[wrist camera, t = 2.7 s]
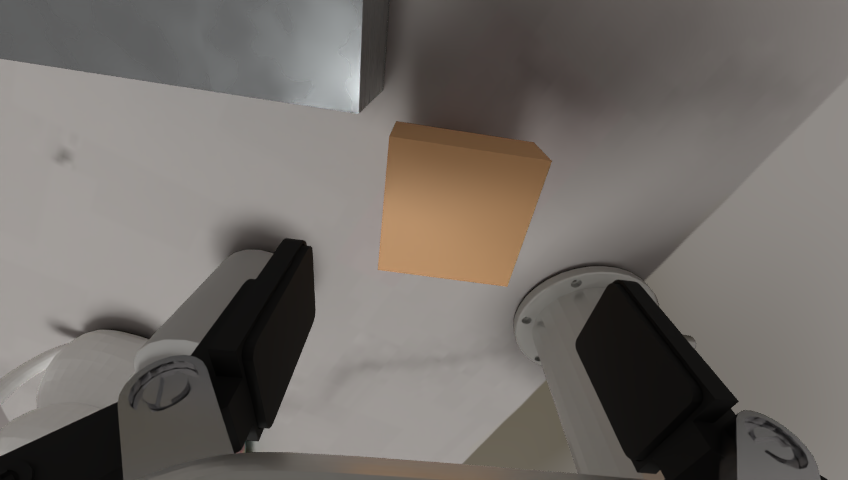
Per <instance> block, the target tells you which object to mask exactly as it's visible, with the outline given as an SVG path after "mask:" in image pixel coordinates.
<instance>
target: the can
mask: <svg viewBox="0 0 848 480" xmlns="http://www.w3.org/2000/svg"><path fill="white" fill-rule="evenodd" d="M273 254H274V253H270V252H266V251H263V250H243V251H239V252H236V253H233V254H232V255H231V256H229V257H228V258H227V259H225V260H224V261H223V262H222V263H221V264H220V265H219V267H218V268H217V269H216V270H215V271H214V272H213V273H212V274H211V275H210V276H209V277H208V278H207V279H206V280H205V281H204V282H203V283H202V284H201V285H200V286H199V288H198V289H197V290H196V291H195V292H194V293H193V294H192V295H191V296H190V297H189V298H188V299H187V300H186V301H185V302H184V303H183V304H182V305H181V306H180V307H179V308H178V310H177V311H176V312H175V313H174V314H173V315H172V316H171V317H170V318H169V319H168V320H167V321H166V322H165V323H164V324H163V325H162V326H161V327H160V328H159V329H158V331H157V332H156V333H155V334H154V335H153V336H152V337H151V338H150V339H149V340H148V341H147V342H146V343H145V344H144V345H143V346H142V347H141V348H140V349H139V350H138V352H137V355H136V357H135V360H134V367H135V373H134V374H136V373H137V372H138V371H140V370H141V369H143V368H144V367H146V366H147V365H149V364H151V363H153V362H156V361H158V360H160V359H163V358H167V357H170V356H177V355H188V356H190V355H191V354H192V353H193V351H194V350H195V349H196V347H197V346H198V345H199V343H200V342H201V340H202V339H203V338H204V336H205V335H206V334H207V332H208V331H209V330H210V328H211V327H212V326H213V324H214V323H215V322H216V320H217V319H218V317H219V316H220V315H221V313H222V312H223V311H224V309H225V308H226V307H227V305H228V304H229V303H230V301H231V300H232V299H233V297H234V296H235V294H236V293H237V292H238V290H239V289H240V288H241V286H242V285H243V284H244V283H245V282H246V281H247V280H248V279H256V278H257V277H258V275H259V274H260V272H261V271H262V270H263V268H264V267H265V265H266V264H267V262H268V261H269V260H270V258H271V257H272V255H273ZM134 374H133V375H134ZM133 375H131V376H130V377H129V380H130V379H131V378H132V377H133ZM129 380H128V381H129Z"/></svg>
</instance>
